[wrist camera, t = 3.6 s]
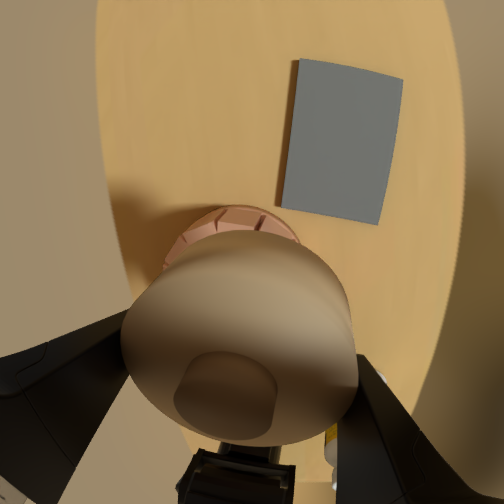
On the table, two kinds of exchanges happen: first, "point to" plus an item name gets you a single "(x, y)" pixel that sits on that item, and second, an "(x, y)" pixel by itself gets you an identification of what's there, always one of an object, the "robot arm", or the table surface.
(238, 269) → the lid
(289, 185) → the mat
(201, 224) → the pink notched ring
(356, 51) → the table surface
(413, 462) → the robot arm
